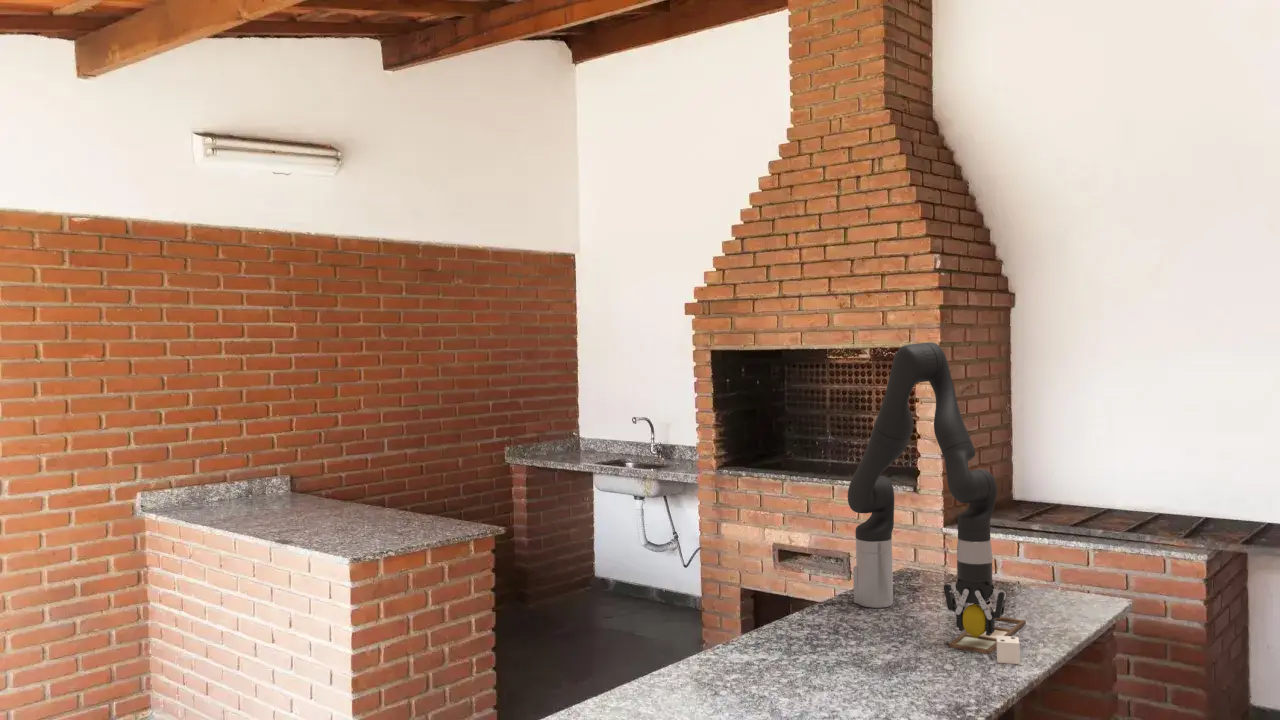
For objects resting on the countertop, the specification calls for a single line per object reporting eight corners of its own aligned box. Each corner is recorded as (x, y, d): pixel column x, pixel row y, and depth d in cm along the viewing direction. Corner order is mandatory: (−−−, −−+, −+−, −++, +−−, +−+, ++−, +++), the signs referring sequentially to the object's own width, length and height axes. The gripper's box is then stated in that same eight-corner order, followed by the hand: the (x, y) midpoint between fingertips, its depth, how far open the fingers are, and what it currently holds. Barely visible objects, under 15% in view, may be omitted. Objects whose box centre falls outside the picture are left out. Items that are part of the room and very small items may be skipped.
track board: (948, 647, 224) (948, 643, 224) (987, 617, 244) (987, 614, 244) (989, 654, 218) (989, 650, 218) (1025, 623, 239) (1025, 620, 239)
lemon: (985, 634, 227) (984, 599, 227) (991, 641, 222) (990, 606, 221) (960, 634, 228) (959, 599, 227) (965, 641, 222) (965, 606, 222)
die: (997, 662, 213) (997, 641, 213) (996, 655, 217) (996, 635, 217) (1019, 664, 211) (1019, 643, 211) (1018, 657, 216) (1018, 636, 216)
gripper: (937, 558, 225) (938, 631, 226) (1001, 566, 217) (1002, 642, 217) (949, 551, 231) (950, 623, 232) (1012, 559, 222) (1013, 633, 223)
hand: (975, 632), depth 225 cm, fingers closed on lemon, 5 cm apart
